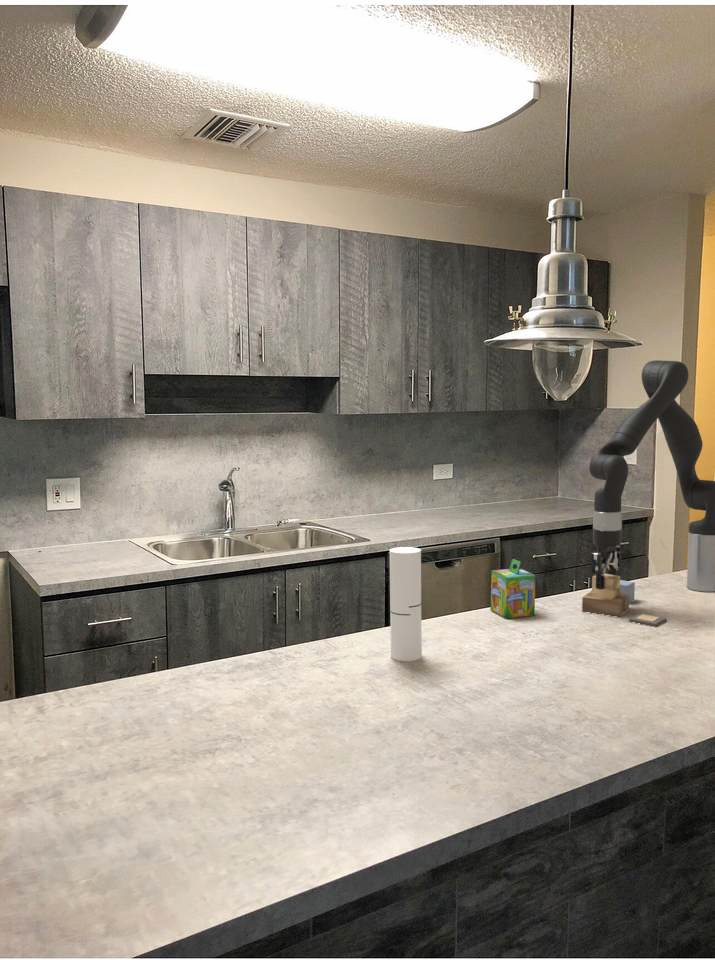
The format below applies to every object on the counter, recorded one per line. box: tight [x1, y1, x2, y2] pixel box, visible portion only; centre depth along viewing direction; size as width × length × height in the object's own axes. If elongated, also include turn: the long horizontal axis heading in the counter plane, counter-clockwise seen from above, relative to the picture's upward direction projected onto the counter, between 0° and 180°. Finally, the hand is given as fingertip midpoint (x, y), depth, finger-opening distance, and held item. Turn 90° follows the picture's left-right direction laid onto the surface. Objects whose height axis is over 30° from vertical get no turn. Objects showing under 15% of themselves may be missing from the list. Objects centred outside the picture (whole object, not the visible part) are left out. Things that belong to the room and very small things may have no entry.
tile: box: [628, 612, 667, 628], centre depth 201 cm, size 7×7×1 cm
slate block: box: [620, 579, 636, 603], centre depth 221 cm, size 6×6×6 cm
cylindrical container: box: [389, 546, 423, 662], centre depth 176 cm, size 7×7×25 cm
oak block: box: [591, 573, 621, 599], centre depth 211 cm, size 6×6×6 cm
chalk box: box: [490, 558, 537, 620], centre depth 210 cm, size 9×9×15 cm
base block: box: [581, 590, 630, 618], centre depth 212 cm, size 10×10×4 cm
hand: (606, 586), depth 211 cm, fingers open, 7 cm apart
